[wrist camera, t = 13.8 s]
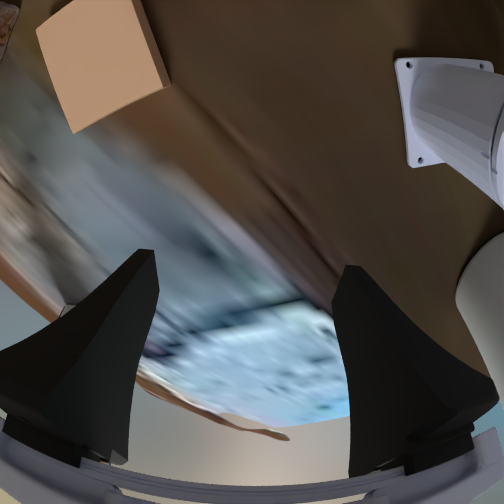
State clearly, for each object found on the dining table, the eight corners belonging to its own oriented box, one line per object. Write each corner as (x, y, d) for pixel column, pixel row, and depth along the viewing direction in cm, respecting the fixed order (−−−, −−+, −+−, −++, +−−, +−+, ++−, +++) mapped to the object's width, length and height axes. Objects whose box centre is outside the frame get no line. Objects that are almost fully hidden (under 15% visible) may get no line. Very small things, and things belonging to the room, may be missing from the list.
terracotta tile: (121, -29, 9) (35, 29, 10) (163, 87, 14) (73, 134, 15) (134, -22, 11) (53, 29, 12) (173, 84, 16) (89, 125, 17)
